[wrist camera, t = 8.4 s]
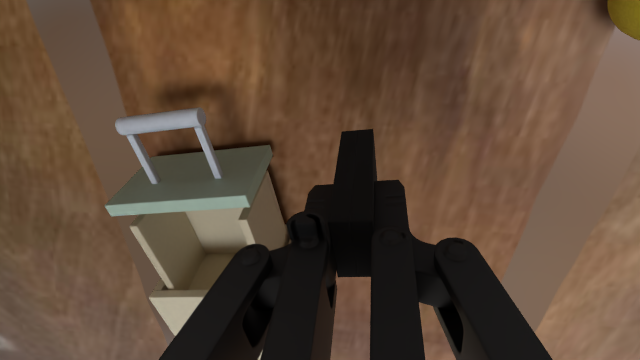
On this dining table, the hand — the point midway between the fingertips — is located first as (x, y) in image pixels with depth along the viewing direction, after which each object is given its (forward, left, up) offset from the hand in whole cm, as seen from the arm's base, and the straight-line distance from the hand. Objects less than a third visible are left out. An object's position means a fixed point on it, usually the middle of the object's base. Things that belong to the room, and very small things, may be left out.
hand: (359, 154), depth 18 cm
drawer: (+10, -16, -13) cm, 23 cm away
